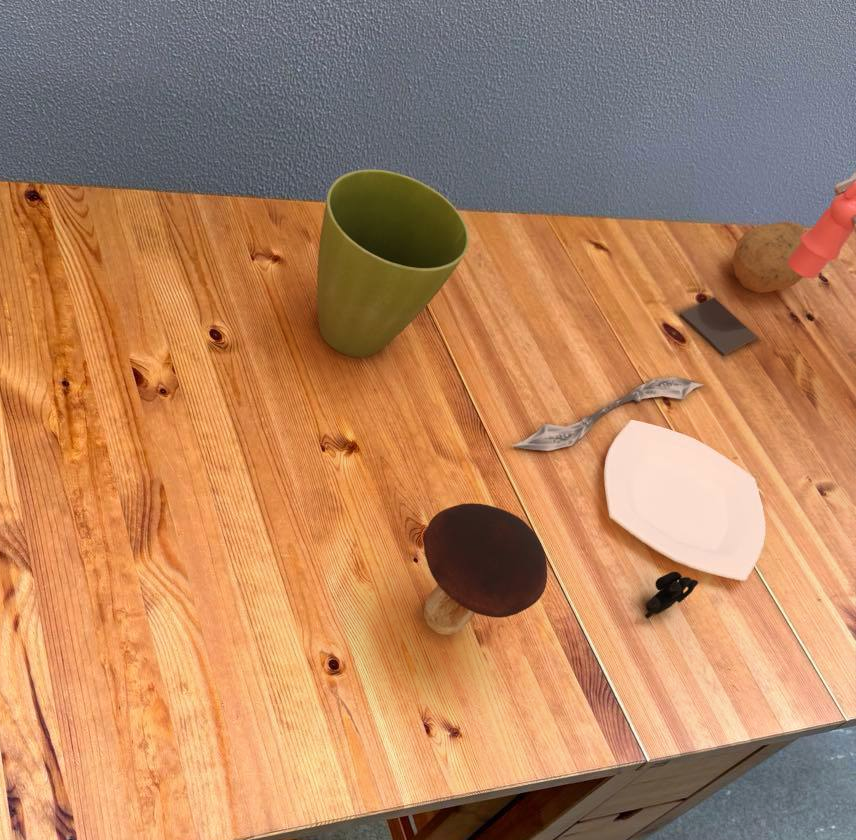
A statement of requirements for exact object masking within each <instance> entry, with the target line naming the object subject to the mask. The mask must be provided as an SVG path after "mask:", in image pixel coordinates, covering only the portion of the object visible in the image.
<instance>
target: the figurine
mask: <svg viewBox="0 0 856 840" xmlns="http://www.w3.org/2000/svg"><path fill="white" fill-rule="evenodd" d="M855 215H856V182H853V183H852V184H851V185H850V186H849V187H848V188H847V189H846V190H845V192H844V193H842V194H839V195H838V196H834V198H833V200H831V202H830V206H829V207H827V208H826V209H825V211H824V212H823V213H822V215H821V216H820V217H819V219H818V220H817V221H816V223H815V224H814V225H813V227H812V228H811V229H810V230H808V231H807V230H806V231H807V232H805V233H803V234H802V235H801V241H802V242H801V243H800V245H799V246H798V247H797V249H796V250H795V251H794V252H793V254H792V255H791V256H790V258H789V259H788V264H789V266H790V267H791V268H792V270H794V271H795V272H796V273H798V274H799V275H801V276H803V278H806V279H815V278H817V277H818V275H819V274H820V273H821V271H822V270H823V269H824V268H825V267H826V265H827V264H828V263H829V262H830V261H834V260H837V259H838V258H839V257H840V254H841V250H842V248H843V247H844V245H845V243H846V242H847V241H848V240H849V239H850V237H851V235H852V234H853V232H855V230H854V228H853V226H852V218H853V217H854V216H855Z"/></svg>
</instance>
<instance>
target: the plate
mask: <svg viewBox="0 0 856 840" xmlns="http://www.w3.org/2000/svg"><path fill="white" fill-rule="evenodd" d="M603 483H604V484H603V485H604V486H603V487H604V492H605V499H606V506H607V512H608V517H609V519H611V520H612V521H614V523H616V524H618V525H619V526H620V527H621V528H623V529H624V530H626V531H627V532H628V533H630V535H632V536H634V537H635V538H636V539H638V540H639V541H640V542H642V543H643V544H645V545H646V546H648V547H649V548H651V549H652V550H654V551H655V552H657V553H659V554H661V555H662V556H664V557H666V558H668V559H670V560H671V561H673V562H675V563H677V564H680V565H683V566H686V567H688V568H690V569H693V570H697V571H700V572H702V573H706V574H710V575H714V576H718V577H721V578H725V579H731V580H735V581H740V582H746V581H747V579H748V578H749V577H750V575H751V573H752V571H753V569H754V568H755V566H756V564H757V563H758V560H759V559H760V557H761V553H762V551H763V548H764V545H765V540H766V518H765V512H764V507H763V503H762V498H761V495H760V491H759V488H758V484H757V481H756V478H755V476H753V475H751V474H750V473H748V472H747V471H745V470H744V469H743V468H742V467H740V466H739V465H738V464H736V463H734V462H733V461H732V460H730V459H729V458H727V457H726V456H724V455H723V454H721V453H720V452H718V451H717V450H715V449H714V448H712V447H710V446H708V445H707V444H705V443H704V442H701V441H700V440H698V439H697V438H694V437H691V436H689V435H686V434H684V433H681V432H678V431H676V430H672V429H669V428H665V427H663V426H659V425H656V424H652V423H648V422H644V421H639V420H634V419H630V420H629V421H628V422H627V423H626V425H624V427H623V428H622V429H621V430H620V432H619V433H618V434H617V435H616V437H614V439H613V441H612V443H611V445H610V446H609V448H608V451H607V454H606V457H605V461H604V469H603Z"/></svg>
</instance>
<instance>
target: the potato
mask: <svg viewBox="0 0 856 840" xmlns="http://www.w3.org/2000/svg"><path fill="white" fill-rule="evenodd" d="M805 232H807V230H806V228H804V226H802V225H800V224H799V223H797V222H792V221H781V222H775V223H771V224H764V225H758V226H755V227H753V228H752V229H749V230H748V231H746V232H745V233H743V235H741V237H740V238H739V239H738V240H737V242H736V245H735V249H734V253H733V269H734V274H735V278H736V279H737V280H738V282H739V283H740V284H741V286H742V287H743V288H745V289H747V290H749V291H753V292H755V293H759V294H763V293H769V292H773V291H778V290H783V289H786V288H791V287H792V286H794V285H796V284H797V283H798V282H800V281H801V280H802V279H803V278H804V277H803V276H801V275H799V274H798V273H796V272H795V271H794V270H792V268H791V267H790V266H789V264H788V259H789V258H790V256H791V255H792V254H793V252H794V251H795V250H796V249H797V247H798V246H799V245H800V243H801V242H802V241H801V235H802V234H803V233H805Z"/></svg>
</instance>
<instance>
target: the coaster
mask: <svg viewBox="0 0 856 840" xmlns="http://www.w3.org/2000/svg"><path fill="white" fill-rule="evenodd" d="M679 316H680V317H681V318H682V319H683V320H684V321H685V322H686V323H687V324H688V325H689V326H690V327H692V329H694V330H695V331H696V332H697V333H698V334H699V335H700V336H701V337H702V338H703V339H704V340H705V341H707V343H709V344H710V345H711V346H712V347H713V348H714V349H715V350H716V352H718V353H719V354H720V355H721V356H722V357H725V356H726V355H728V354H730V353H732V352H734V351H736V350H738V349H740V348H742V347H744V346H746V345H748V344H750V343H751V342H753V341H755V340H756V339H757V338H758V336H757V335H756V334H754V333H753V332H752V330H750V329H749V328H748V327H747V326H746V325H745V324H744V323H743V322H741V320H739V319H738V318H737V317H736V316H735V314H733V313H732V312H731V311H730V310H729V309H727V307H725V306H724V305H723V304H722V303H721V302H720V301H719V300H718V299H716V298H715V297H712V298H710V299H707V300H706V301H703V302H701V303H699V304H697V305H695V306H692V307H690V308H689V309H686V310H684V311H682V312H680V313H679Z"/></svg>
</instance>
